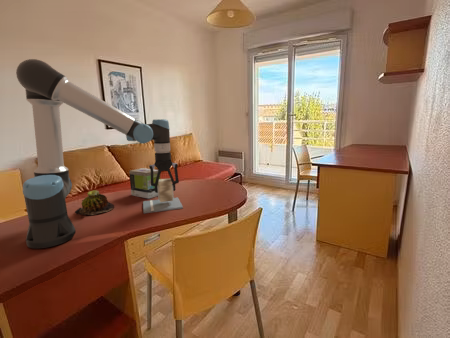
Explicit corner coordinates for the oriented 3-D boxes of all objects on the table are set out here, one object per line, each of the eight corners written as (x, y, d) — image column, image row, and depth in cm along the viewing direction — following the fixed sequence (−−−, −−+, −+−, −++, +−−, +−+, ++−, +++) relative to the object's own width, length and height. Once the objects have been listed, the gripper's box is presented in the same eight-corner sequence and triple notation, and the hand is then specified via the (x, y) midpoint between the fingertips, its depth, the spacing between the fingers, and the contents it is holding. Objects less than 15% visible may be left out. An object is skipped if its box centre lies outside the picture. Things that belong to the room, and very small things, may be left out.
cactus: (66, 216, 110) (63, 195, 108) (88, 204, 125) (86, 186, 124) (102, 217, 108) (99, 196, 106) (120, 205, 124) (118, 186, 122)
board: (143, 213, 111) (143, 211, 111) (143, 202, 126) (143, 201, 125) (182, 208, 117) (182, 206, 116) (178, 198, 131) (177, 197, 131)
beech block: (160, 202, 117) (158, 182, 115) (159, 198, 123) (158, 179, 121) (172, 200, 119) (171, 181, 117) (171, 197, 125) (170, 178, 123)
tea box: (162, 194, 139) (160, 169, 137) (148, 199, 131) (146, 172, 128) (144, 191, 147) (142, 167, 145) (130, 195, 139) (128, 170, 136)
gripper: (142, 154, 110) (146, 202, 114) (183, 151, 116) (186, 197, 121) (141, 152, 117) (145, 198, 121) (181, 150, 123) (183, 193, 127)
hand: (165, 197), depth 121 cm, fingers closed on beech block, 6 cm apart
